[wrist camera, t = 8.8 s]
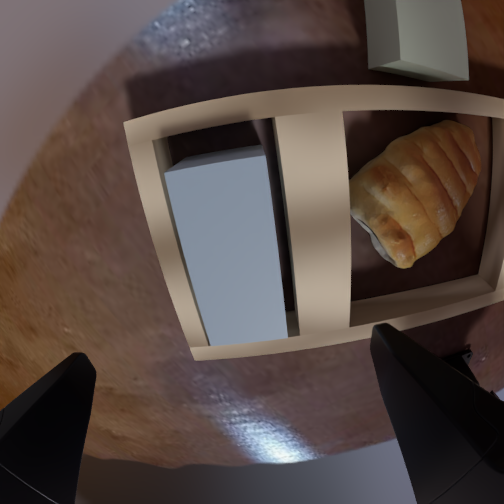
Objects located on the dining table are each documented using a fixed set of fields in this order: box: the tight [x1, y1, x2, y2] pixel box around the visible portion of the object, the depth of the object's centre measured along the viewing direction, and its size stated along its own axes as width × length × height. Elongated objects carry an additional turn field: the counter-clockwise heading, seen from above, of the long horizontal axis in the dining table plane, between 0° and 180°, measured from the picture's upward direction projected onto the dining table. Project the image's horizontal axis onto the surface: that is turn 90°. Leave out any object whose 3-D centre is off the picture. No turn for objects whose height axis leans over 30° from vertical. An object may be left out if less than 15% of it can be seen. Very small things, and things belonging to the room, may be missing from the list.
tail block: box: [364, 0, 469, 82], centre depth 10 cm, size 6×4×4 cm, turn 1°
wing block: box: [164, 145, 288, 346], centre depth 15 cm, size 9×4×4 cm, turn 8°
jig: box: [123, 85, 504, 361], centre depth 15 cm, size 14×31×2 cm, turn 99°
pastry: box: [349, 120, 481, 268], centre depth 14 cm, size 9×7×4 cm
